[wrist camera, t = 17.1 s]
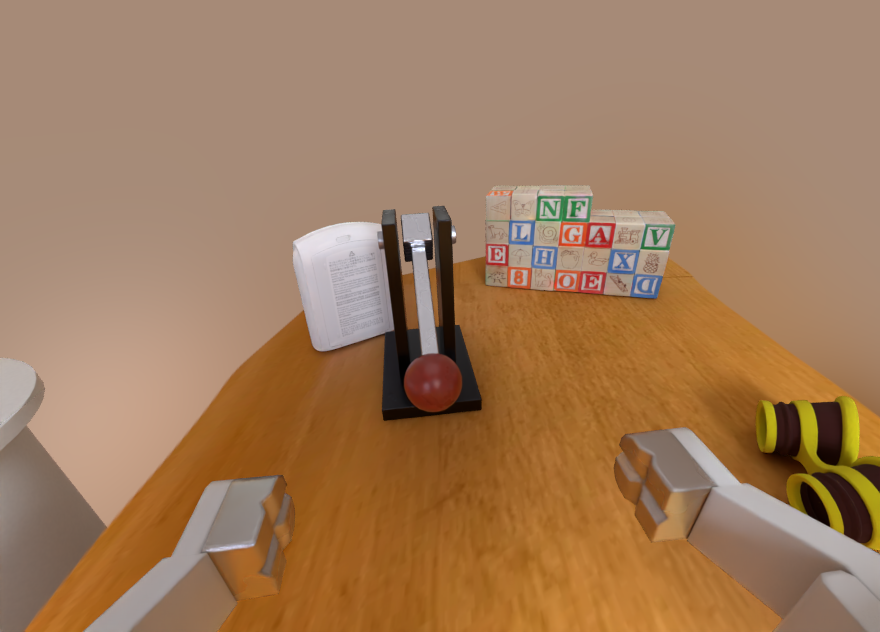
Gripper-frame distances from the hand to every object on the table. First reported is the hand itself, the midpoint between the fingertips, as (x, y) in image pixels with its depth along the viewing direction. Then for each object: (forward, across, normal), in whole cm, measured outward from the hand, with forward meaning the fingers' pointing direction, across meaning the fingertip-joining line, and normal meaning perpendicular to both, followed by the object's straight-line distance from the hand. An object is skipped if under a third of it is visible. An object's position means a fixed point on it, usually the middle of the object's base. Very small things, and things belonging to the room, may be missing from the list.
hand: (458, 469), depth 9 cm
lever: (+18, 0, +6) cm, 19 cm away
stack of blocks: (+39, -20, +14) cm, 46 cm away
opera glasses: (+7, -23, +14) cm, 28 cm away
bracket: (+23, 0, +14) cm, 27 cm away
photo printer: (+31, +7, +15) cm, 35 cm away
